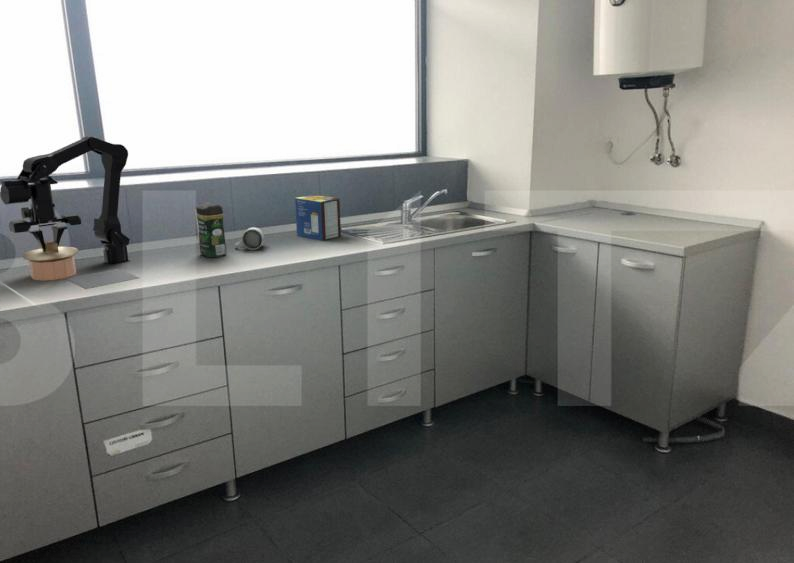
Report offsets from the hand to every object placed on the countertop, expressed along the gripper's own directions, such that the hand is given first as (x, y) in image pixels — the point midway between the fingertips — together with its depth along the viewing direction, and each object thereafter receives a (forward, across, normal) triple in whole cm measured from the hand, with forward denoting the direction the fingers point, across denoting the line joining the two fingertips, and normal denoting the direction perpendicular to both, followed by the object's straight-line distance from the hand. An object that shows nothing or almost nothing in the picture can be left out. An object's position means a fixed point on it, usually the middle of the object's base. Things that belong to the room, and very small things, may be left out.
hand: (50, 250), depth 195 cm
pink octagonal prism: (+8, 0, 0) cm, 8 cm away
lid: (+1, 0, 0) cm, 1 cm away
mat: (+8, -9, +15) cm, 19 cm away
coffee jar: (+9, -49, +11) cm, 51 cm away
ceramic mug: (+9, -64, +11) cm, 66 cm away
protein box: (+9, -95, +13) cm, 96 cm away
